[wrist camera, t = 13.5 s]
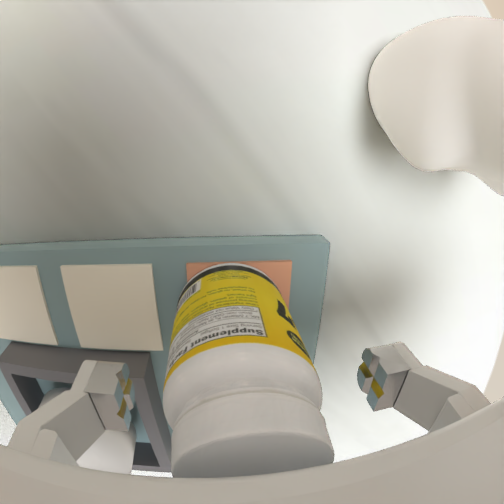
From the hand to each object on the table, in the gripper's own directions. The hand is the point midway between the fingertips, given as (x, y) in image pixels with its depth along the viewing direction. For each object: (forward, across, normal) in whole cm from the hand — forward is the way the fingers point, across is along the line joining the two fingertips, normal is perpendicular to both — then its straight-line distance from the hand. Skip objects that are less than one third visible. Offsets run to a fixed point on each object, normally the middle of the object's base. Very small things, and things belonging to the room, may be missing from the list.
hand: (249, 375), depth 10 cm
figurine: (+6, -9, -10) cm, 15 cm away
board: (+6, +7, +4) cm, 10 cm away
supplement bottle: (+5, 0, 0) cm, 5 cm away
